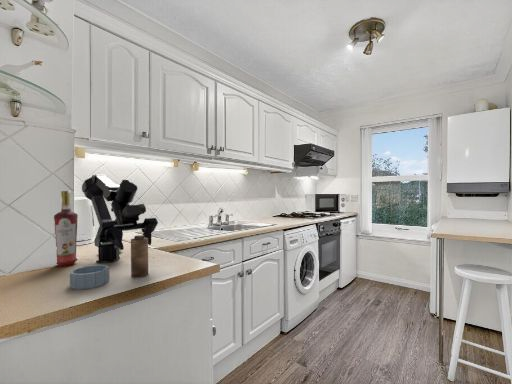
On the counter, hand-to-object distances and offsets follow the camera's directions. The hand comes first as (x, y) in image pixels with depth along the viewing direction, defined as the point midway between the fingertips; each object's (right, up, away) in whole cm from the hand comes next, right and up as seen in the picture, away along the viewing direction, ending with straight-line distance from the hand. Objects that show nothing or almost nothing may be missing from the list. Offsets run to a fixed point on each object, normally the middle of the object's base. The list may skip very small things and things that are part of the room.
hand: (137, 246), depth 88 cm
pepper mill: (+1, -9, -1) cm, 9 cm away
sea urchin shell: (-25, -9, +30) cm, 40 cm away
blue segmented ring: (-10, -9, -9) cm, 16 cm away
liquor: (-32, -9, +12) cm, 36 cm away
